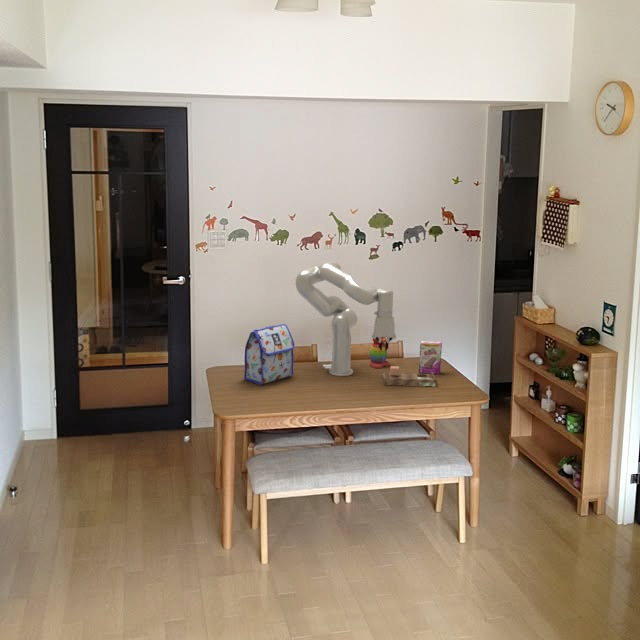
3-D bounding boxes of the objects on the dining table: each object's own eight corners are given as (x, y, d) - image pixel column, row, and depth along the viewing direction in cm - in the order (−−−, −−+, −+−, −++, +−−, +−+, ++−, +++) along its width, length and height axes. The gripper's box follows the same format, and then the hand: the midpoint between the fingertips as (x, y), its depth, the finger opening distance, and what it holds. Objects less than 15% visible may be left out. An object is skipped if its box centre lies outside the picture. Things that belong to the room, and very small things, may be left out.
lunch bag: (264, 387, 413) (264, 333, 407) (241, 379, 424) (241, 327, 418) (297, 377, 430) (298, 326, 424) (274, 371, 441) (274, 320, 434)
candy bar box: (418, 373, 440) (420, 343, 437) (418, 371, 445) (419, 340, 441) (440, 374, 439) (442, 344, 435) (440, 372, 444) (441, 341, 440)
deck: (384, 385, 419) (384, 378, 418) (383, 376, 434) (383, 370, 433) (435, 386, 419) (435, 379, 418) (432, 377, 433) (432, 371, 433)
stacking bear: (378, 369, 447) (379, 336, 443) (364, 365, 454) (365, 332, 450) (392, 365, 454) (393, 333, 450) (378, 361, 461) (379, 329, 457)
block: (390, 376, 428) (390, 368, 427) (390, 373, 432) (390, 366, 431) (398, 376, 428) (399, 368, 427) (398, 374, 432) (398, 366, 431)
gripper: (369, 315, 419) (367, 351, 424) (401, 316, 419) (399, 352, 423) (368, 312, 427) (367, 347, 431) (400, 313, 426) (398, 348, 431)
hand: (383, 349), depth 427 cm, fingers closed
